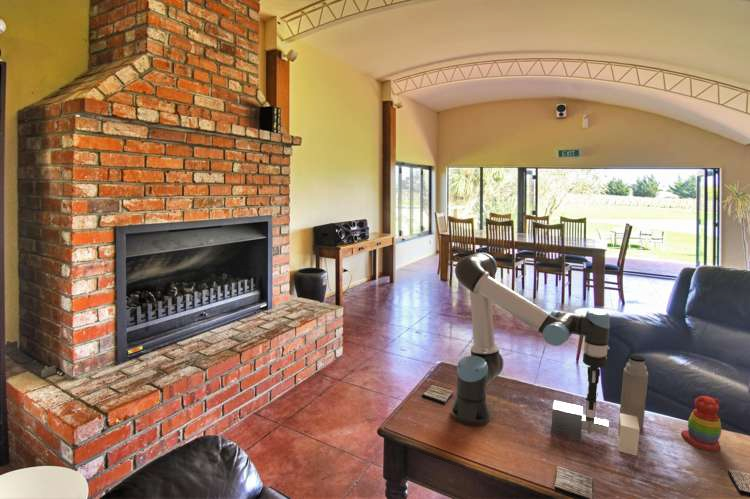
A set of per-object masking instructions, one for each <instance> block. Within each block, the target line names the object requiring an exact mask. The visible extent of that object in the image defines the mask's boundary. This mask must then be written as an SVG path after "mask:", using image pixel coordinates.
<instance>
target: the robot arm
mask: <svg viewBox="0 0 750 499" xmlns="http://www.w3.org/2000/svg"><path fill="white" fill-rule="evenodd" d="M497 271H498V263H497V261H496V258H494V257H493V256H492V255H491V254H490V253H487V252H476V253H473V254H470V255H467V256H464V257H461V258H460V259H458V261H457V263H456V264H455V267H454V274H455V278H456V280H457V281H458V282H459V283H460V284H461V285H462V286H463V287H464V288H466V290H467V289H468V291H469V295H470V296H469V297H470V299H469V300H470V310H471V323H472V326H471V327H472V337H473V338H472V340H473V345H472V346H471V347H470V355H469V356H464V357H462V358H460V359H459V360H458V362H457V367H456V394H455V395H456V397H455V399H454V402H453V404H452V406H451V416H452V418H453V420H455V421H456V422H457V423H459V424H461V425H465V426H468V427H480V426H484V425H486V424H488V422H490V418H491V412H490V408H489V404H488V401H487V387H488V385H489V384H490V383H491V382H492V381H493V380H495V378H497V377H498V376H499V375H500V374H501V373H502V371H503V369H504V363H505V362H504V358H503V356H502V354H501V353H500V348H499V347H498V346H497V345H496V343H495V330H494V328H495V327H494V315H493V303H494V304H495V305H497V306H498V307H500V309H503V310H505V311H506V312H508V313H509V314H511V315H512V316H514V317H515V318H517V319H518V320H520V321H522V322H523V323H524V324H526V325H527V326H529V327H531V328H532V329H534V330H535V331H537V332H538V333H540V334H541V335H542V337H543V339H544V340H545V342H546V343H547V344H549V345H550V346H554V347H558V346H561V345H563V344H564V343H566V342H567V341H568V340H569V338H570V337H571V336H572V335H576V336H583V337H584V338H583V339H584V340H583V355H582V362H583V364H584V365H586V366H587V382H588V387H587V390H589V391H588V398H587V397H585V401H586V402H587V410H586V409H585V415H586V417H591V418H594V417H595V416H596V410H595V405H596V406H597V398H596V392H597V396H598V394H599V393H598V391H597V389H598V384H599V381H600V379H599V378H600V376H601V368H605V367H606V366H607V361H608V357H607V355H608V350H610V349H611V348H610V346H609V339H610V338H609V337H610V329H611V328H610V327H611V326H610V322H611V319H610V318H611V317H610V314H609V313H607V312H606V311H603V310H598V309H590V310H587V311H586V314H580V313H575V312H569V311H564V310H555V309H553V310H552V311H551V313H549V312H548V311H546V310H545V309H543V308H541V307H540V306H538V305H537V304H535V303H534V302H532V301H530V300H528V299H527V298H525V297H523V296H522V295H520V294H519V293H517V292H516V291H514V290H513V289H511V288H509V287H508V286H506V285H504V284H502V282H500V281H498V280H496V279H495V278H494V277H495V275H496V273H497ZM595 418H596V417H595Z"/></svg>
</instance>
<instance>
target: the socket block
mask: <svg viewBox="0 0 750 499" xmlns="http://www.w3.org/2000/svg"><path fill="white" fill-rule="evenodd" d="M618 416H619V417H618V425H617V427H618V428H617V435H616V437H617V448H618V452H620V453H625V454H628V455H632V456H637V455H638V449H639V442H640V441H639V440H640V432H641V431H640V429H639V424H638V418H637V417H636V416H632V415H627V414H622V413H620V412H619V415H618Z"/></svg>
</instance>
